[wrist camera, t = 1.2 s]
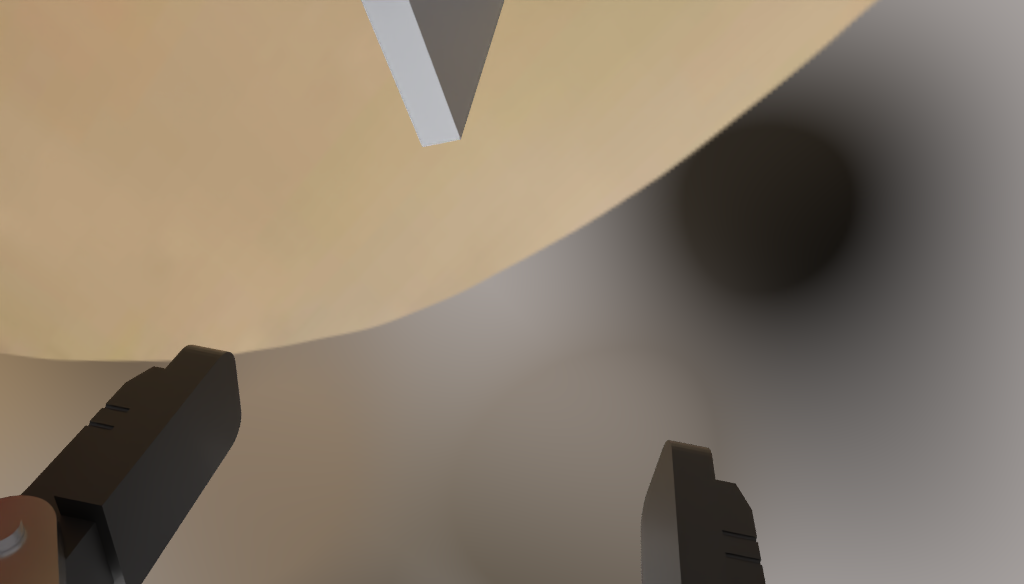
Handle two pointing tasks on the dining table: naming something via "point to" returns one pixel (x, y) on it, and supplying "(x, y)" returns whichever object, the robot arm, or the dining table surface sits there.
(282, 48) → the dining table surface
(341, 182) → the dining table surface
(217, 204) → the dining table surface
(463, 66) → the grey slotted stand
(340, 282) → the dining table surface
